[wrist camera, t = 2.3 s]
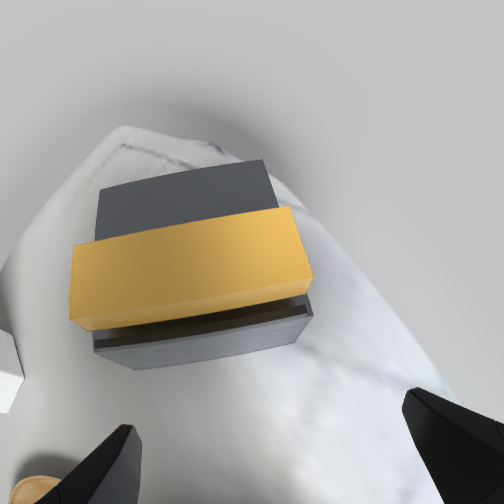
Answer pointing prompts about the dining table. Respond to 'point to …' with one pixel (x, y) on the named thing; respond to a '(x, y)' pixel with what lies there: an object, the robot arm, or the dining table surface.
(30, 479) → the plant saucer
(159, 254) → the key
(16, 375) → the jar
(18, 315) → the dining table surface
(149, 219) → the box
